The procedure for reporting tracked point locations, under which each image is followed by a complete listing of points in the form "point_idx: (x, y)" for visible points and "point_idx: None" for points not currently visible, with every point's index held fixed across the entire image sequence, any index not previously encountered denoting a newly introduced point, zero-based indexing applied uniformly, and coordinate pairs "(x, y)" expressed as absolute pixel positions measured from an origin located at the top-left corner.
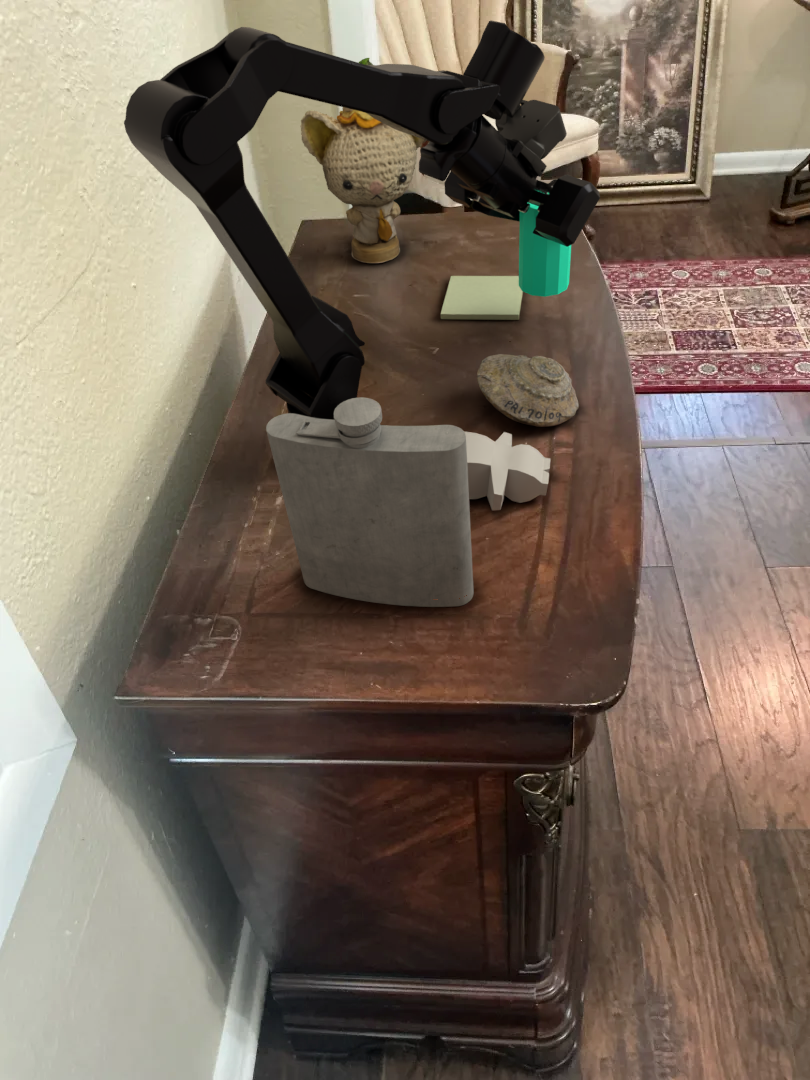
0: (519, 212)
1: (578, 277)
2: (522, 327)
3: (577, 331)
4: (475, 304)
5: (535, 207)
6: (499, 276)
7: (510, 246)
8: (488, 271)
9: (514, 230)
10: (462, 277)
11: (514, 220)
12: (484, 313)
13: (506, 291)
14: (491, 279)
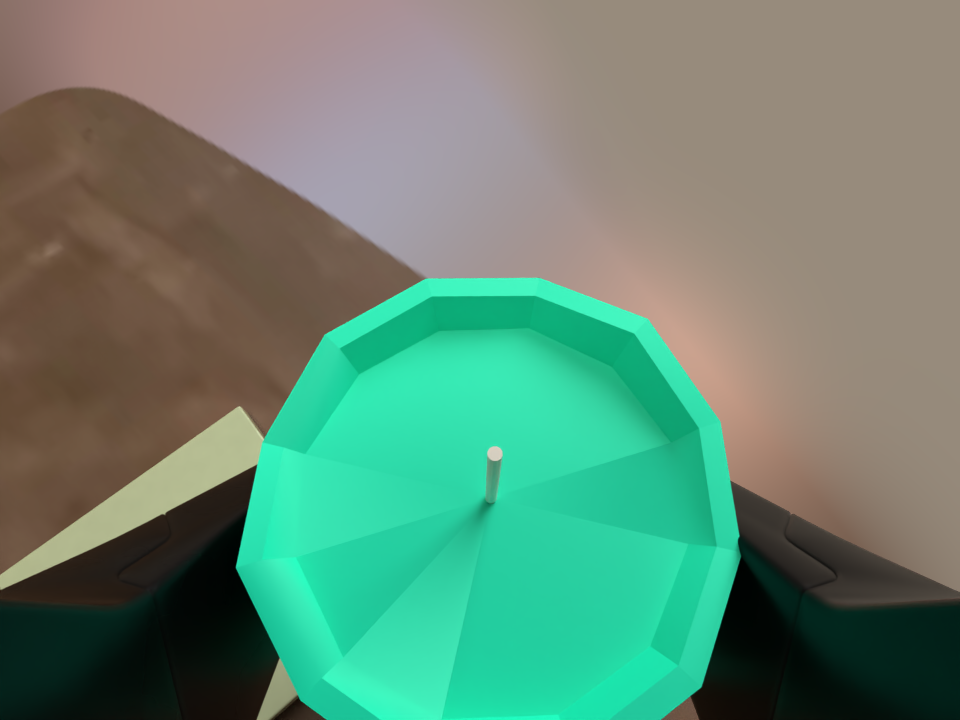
0: None
1: (368, 296)
2: None
3: None
4: None
5: (497, 664)
6: (165, 463)
7: (73, 287)
8: (98, 441)
9: (29, 215)
10: (44, 558)
11: (277, 662)
12: (280, 701)
13: None
14: (152, 497)
